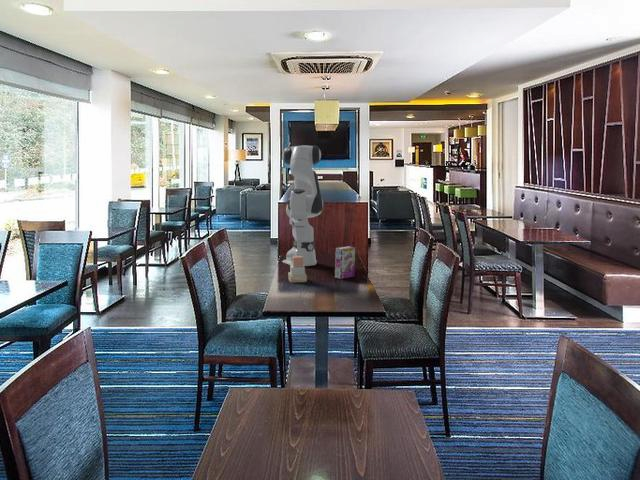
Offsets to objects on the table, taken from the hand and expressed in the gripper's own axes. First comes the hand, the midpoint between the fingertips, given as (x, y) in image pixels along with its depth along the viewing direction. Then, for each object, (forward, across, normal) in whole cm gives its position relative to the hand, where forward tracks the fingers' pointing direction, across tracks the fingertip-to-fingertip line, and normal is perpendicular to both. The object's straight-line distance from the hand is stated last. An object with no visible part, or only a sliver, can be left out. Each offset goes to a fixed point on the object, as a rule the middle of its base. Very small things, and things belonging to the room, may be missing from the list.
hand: (297, 247), depth 293 cm
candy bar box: (+18, -3, +26) cm, 32 cm away
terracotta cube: (+10, 0, 0) cm, 10 cm away
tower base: (+18, 0, 0) cm, 18 cm away
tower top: (+14, 0, 0) cm, 14 cm away
